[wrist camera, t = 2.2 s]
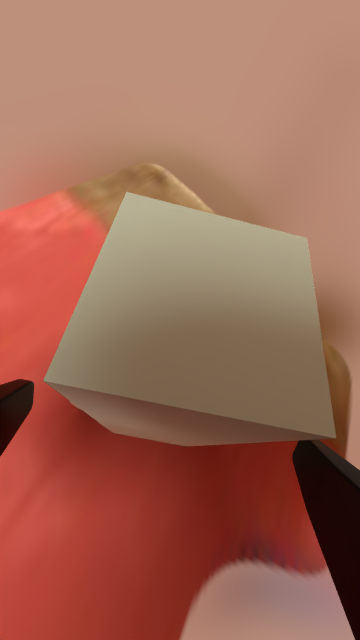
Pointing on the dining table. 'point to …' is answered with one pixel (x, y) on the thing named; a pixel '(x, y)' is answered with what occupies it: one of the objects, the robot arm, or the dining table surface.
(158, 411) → the sage block
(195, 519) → the dining table surface
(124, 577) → the dining table surface
